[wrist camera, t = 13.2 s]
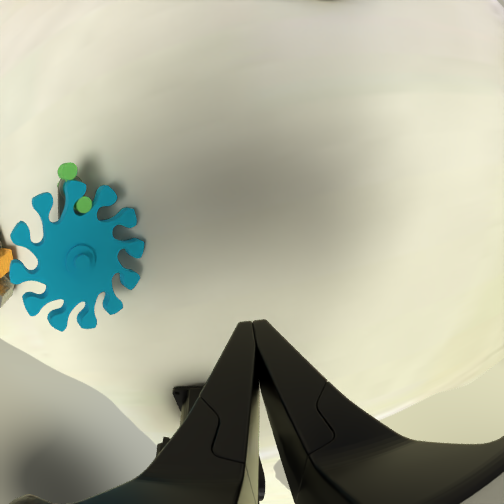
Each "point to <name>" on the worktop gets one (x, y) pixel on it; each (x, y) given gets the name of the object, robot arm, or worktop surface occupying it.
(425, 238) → the worktop surface
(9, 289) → the sprocket
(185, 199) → the worktop surface
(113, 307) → the gear
